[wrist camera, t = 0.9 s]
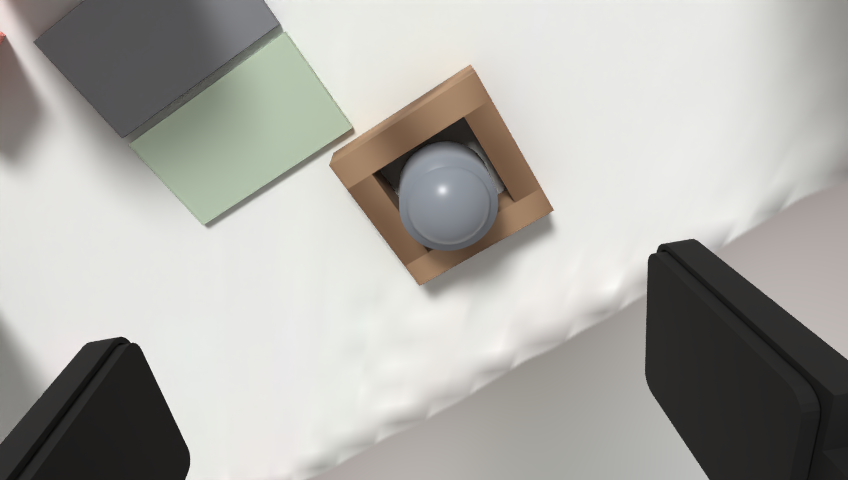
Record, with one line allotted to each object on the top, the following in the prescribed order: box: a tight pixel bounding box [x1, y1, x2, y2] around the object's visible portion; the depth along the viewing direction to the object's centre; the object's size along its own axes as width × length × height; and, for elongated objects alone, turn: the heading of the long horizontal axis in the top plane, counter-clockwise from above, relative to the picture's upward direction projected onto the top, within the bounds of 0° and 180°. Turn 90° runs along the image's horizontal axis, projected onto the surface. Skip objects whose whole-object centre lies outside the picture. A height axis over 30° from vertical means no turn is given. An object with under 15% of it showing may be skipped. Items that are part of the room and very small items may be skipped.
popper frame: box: [329, 65, 554, 286], centre depth 34 cm, size 10×10×2 cm
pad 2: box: [129, 32, 352, 225], centre depth 33 cm, size 12×6×1 cm, turn 122°
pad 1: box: [34, 0, 280, 138], centre depth 30 cm, size 12×6×1 cm, turn 122°
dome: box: [399, 141, 498, 251], centre depth 31 cm, size 6×6×5 cm
